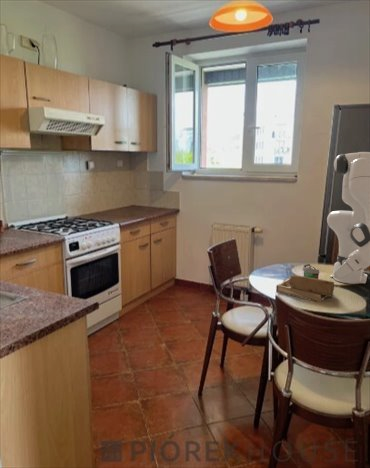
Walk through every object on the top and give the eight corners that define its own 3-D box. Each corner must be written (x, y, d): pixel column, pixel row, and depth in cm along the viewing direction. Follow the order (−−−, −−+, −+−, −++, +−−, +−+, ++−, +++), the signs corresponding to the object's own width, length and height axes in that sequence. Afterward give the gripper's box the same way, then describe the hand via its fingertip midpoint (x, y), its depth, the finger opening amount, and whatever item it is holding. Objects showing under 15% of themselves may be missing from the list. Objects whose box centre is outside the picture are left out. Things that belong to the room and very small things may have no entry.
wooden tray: (289, 284, 194) (289, 277, 193) (331, 293, 179) (331, 286, 178) (276, 291, 182) (276, 285, 182) (319, 302, 168) (320, 295, 167)
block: (332, 281, 167) (290, 273, 177) (329, 297, 166) (287, 288, 177) (335, 281, 176) (295, 273, 186) (333, 296, 176) (293, 287, 186)
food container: (298, 280, 198) (299, 263, 196) (308, 280, 199) (309, 263, 197) (307, 288, 186) (308, 270, 184) (318, 288, 187) (319, 269, 185)
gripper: (361, 250, 169) (338, 266, 177) (346, 259, 154) (323, 276, 162) (370, 261, 167) (347, 276, 175) (356, 271, 152) (332, 287, 160)
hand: (335, 276), depth 168 cm, fingers closed
